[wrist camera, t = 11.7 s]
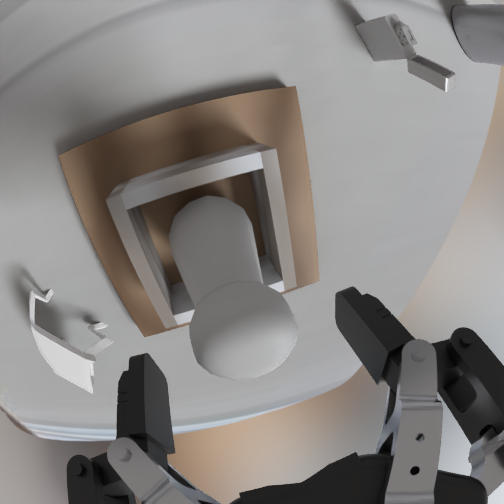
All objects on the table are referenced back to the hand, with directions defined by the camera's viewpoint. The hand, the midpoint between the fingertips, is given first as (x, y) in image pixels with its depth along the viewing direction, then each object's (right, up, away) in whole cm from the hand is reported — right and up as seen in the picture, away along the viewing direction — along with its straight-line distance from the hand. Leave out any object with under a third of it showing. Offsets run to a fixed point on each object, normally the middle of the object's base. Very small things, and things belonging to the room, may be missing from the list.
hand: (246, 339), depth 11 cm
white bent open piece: (-18, -4, +13) cm, 23 cm away
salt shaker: (-3, +6, +10) cm, 12 cm away
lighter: (+12, +22, +8) cm, 26 cm away
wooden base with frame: (-4, +6, +11) cm, 14 cm away
